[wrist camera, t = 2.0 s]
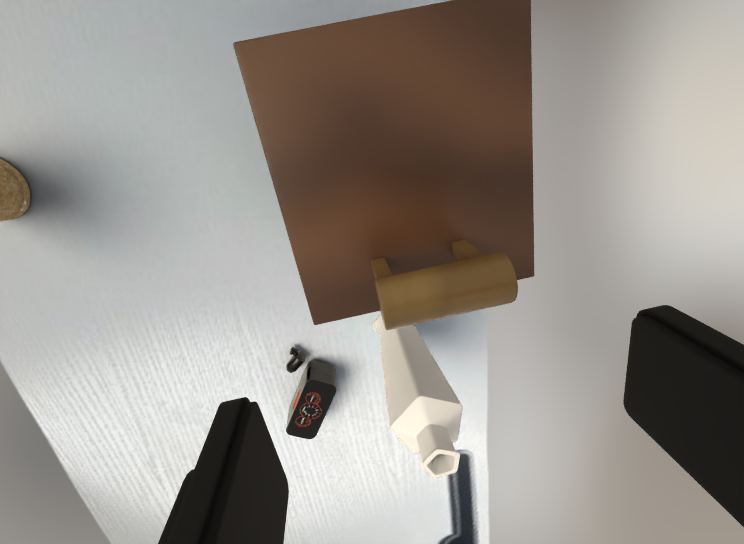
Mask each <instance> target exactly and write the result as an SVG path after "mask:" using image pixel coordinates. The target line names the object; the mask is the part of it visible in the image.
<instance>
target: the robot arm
mask: <svg viewBox="0 0 744 544" xmlns="http://www.w3.org/2000/svg"><path fill="white" fill-rule="evenodd" d="M624 407H625V409H626V412H627V413H628V415H629V416H630V417H631V418H632V419H633V420H634V421H635V422H636V423H637V424H638V425H639V426H640V427H641V428H642V429H643V430H644V431H645V432H646V433H647V434H648V435H649V436H651V437H652V438H653V439H654V440H655V441H656V442H657V443H658V444H659V445H660V446H661V447H662V448H663V449H664V450H665V451H666V452H667V453H668V454H669V455H670V456H671V457H672V458H673V459H674V460H675V461H676V462H677V463H678V464H679V465H680V466H681V467H682V468H684V470H685V471H687V473H689V474H690V475H691V476H692V477H693V478H694V479H695V480H696V481H697V482H698V483H699V484H700V485H701V486H702V487H703V488H704V489H705V490H706V491H707V492H708V493H709V494H710V495H711V496H712V497H713V498H714V499H716V501H717V502H718V503H720V504H721V505H722V506H723V507H724V508H725V509H726V510H727V511H728V512H729V513H730V514H731V515H732V516H733V517H734V518H735V519H736V520H737V521H738V522H739V523H740V524H741V525H742V526H743V527H744V345H743V344H741V343H739V342H737V341H735V340H734V339H732V338H730V337H728V336H726V335H724V334H722V333H720V332H718V331H717V330H714V329H713V328H711V327H709V326H707V325H705V324H704V323H701V322H700V321H698V320H696V319H694V318H692V317H690V316H688V315H687V314H685V313H683V312H681V311H679V310H677V309H675V308H673V307H671V306H668V305H662V306H658V307H653V308H649V309H645V310H641V311H639V313H638V314H637V317H636V318H634V320H633V321H632V327H631V337H630V346H629V355H628V364H627V373H626V383H625V393H624ZM288 493H289V491H288V482H287V478H286V475H285V473H284V470H283V468H282V465H281V462H280V460H279V457H278V455H277V452H276V449H275V447H274V444H273V442H272V439H271V436H270V434H269V431H268V429H267V426H266V424H265V421H264V418H263V416H262V413H261V411H260V408H259V406H258V404H257V402H250V401H249V399H248V398H246V397H244V398H239V399H235V400H230V401H226V402H222V403H221V404H220V405H219V407H218V410H217V413H216V415H215V418H214V420H213V423H212V425H211V428H210V431H209V433H208V436H207V438H206V441H205V443H204V446H203V449H202V451H201V454H200V456H199V459H198V462H197V464H196V467H195V469H193V470H191V471H190V472H189V473H188V474H187V476H186V477H185V479H184V481H183V484H182V486H181V489H180V491H179V493H178V496H177V498H176V501H175V503H174V506H173V508H172V511H171V513H170V516H169V518H168V521H167V523H166V525H165V528H164V530H163V533H162V535H161V538H160V540H159V543H158V544H283V541H284V532H285V523H286V514H287V504H288Z"/></svg>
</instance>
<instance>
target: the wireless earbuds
mask: <svg viewBox="0 0 744 544" xmlns="http://www.w3.org/2000/svg"><path fill="white" fill-rule="evenodd" d="M298 351H299V350H298V349H296V348H294V347H292V348H291V351H290V354H291V355H292V354H293V357H292V358H291V359H290V361H289V362H288V363H287V366H286V367H287V371H288V372H290V373H292V372H295V371H296V370H297V369H298V368H299V367H300V366H301V364H302V363H303V362H304V361H305V356H304V355H303V354H302V353H301V352H298ZM335 393H336V370H335V367H334V366H333V365H330V364H327V363H323V362H319V361H316V360H312V361H310V362H308V364H307V366H306V368H305V371H304V373H303V375H302V378H301V380H300V383H299V385H298V388H297V390H296V392H295V395H294V397H293V400H292V402H291V405H290V407H289V413H288V420H287V428H286V432H287V433H288V434H289V435H292V436H296V437H301V438H306V439H312V438H314V437H315V436H316V435H317V433H318V430H319V428H320V426H321V424H322V422H323V419H324V417H325V415H326V413H327V411H328V408H329V406H330V404H331V402H332V400H333V398H334V395H335Z"/></svg>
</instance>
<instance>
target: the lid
mask: <svg viewBox="0 0 744 544" xmlns="http://www.w3.org/2000/svg"><path fill="white" fill-rule="evenodd" d="M530 1H531V0H451V1H446V2H441V3H435V4H430V5H425V6H420V7H415V8H410V9H404V10H399V11H394V12H389V13H384V14H379V15H373V16H368V17H363V18H358V19H353V20H347V21H342V22H337V23H332V24H327V25H322V26H316V27H311V28H306V29H301V30H296V31H291V32H285V33H280V34H275V35H270V36H265V37H259V38H254V39H249V40H244V41H239V42H235V43H233V46H234V49H235V53H236V56H237V60H238V63H239V67H240V70H241V73H242V77H243V80H244V84H245V87H246V91H247V94H248V98H249V101H250V105H251V108H252V112H253V115H254V119H255V122H256V125H257V129H258V132H259V136H260V139H261V143H262V146H263V150H264V153H265V157H266V160H267V164H268V167H269V171H270V174H271V177H272V181H273V184H274V188H275V191H276V195H277V198H278V202H279V205H280V209H281V212H282V216H283V219H284V223H285V226H286V229H287V233H288V236H289V240H290V243H291V247H292V250H293V254H294V257H295V261H296V264H297V268H298V271H299V275H300V278H301V281H302V285H303V288H304V292H305V295H306V299H307V302H308V306H309V309H310V313H311V316H312V320H313V323H314V325H318V324H322V323H327V322H331V321H335V320H340V319H344V318H349V317H353V316H358V315H362V314H367V313H371V312H376V311H381V316H382V320H383V323H384V327H385V329H386V330H392V329H396V328H401V327H405V326H410V325H414V324H418V323H423V322H427V321H432V320H436V319H441V318H445V317H450V316H454V315H458V314H463V313H467V312H472V311H476V310H481V309H485V308H490V307H494V306H498V305H503V304H507V303H512V302H513V301H515V299H516V297H517V293H518V285H517V280H519V279H524V278H529V277H532V276H534V223H533V151H532V150H533V149H532V148H533V147H532V73H531V2H530Z"/></svg>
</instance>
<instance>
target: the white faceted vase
mask: <svg viewBox="0 0 744 544" xmlns="http://www.w3.org/2000/svg"><path fill="white" fill-rule="evenodd" d="M373 328H374V329H375V330H376V332H377V333H378V334H379V338H380V347H381V355H382V364H383V373H384V381H385V390H386V399H387V407H388V416H389V425H390V430H391V431H392V432H393V434H394V435H395V436H396V437H397V438H398V439H399V440H400V441H401V442H402V443H403V444H404V445H405V446H406V447H407V448H408V450H409V451H410V452H411V453H413V454H419V453H420V454H421V457H422V461H423V462H422V464H421V467H422V468H423V469H424V470H425V471H426V472H427V473H428V475H429V476H430V477H432V478H434V479H435V478H439V477H443V476H446V475H449V474H452V473H455V472H456V471H457V469H458V464H459V457H460V454H459V453H458V452H456V451H455V449H454V446H453V444H452V443H454V442H456V441H457V440H458V435H459V428H460V422H461V415H462V409H463V407H462V405H461V403H460V401H459V400H458V398H457V396H456V395H455V393H454V391H453V390H452V388H451V386H450V385H449V383H448V381H447V380H446V378H445V376H444V375H443V373H442V371H441V369H440V368H439V366H438V364H437V363H436V361H435V359H434V358H433V356H432V354H431V353H430V351H429V349H428V348H427V346H426V344H425V343H424V341H423V339H422V338H421V336H420V334H419V333H418V331H417V329H416V328H415V326H414V325H410V326H405V327H401V328H396V329H392V330H386V329H385V327H384V323H383V320H382V316H381V315H380V316H379V317H378V318H377V319H376V321H375V322H374V323H373Z"/></svg>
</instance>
